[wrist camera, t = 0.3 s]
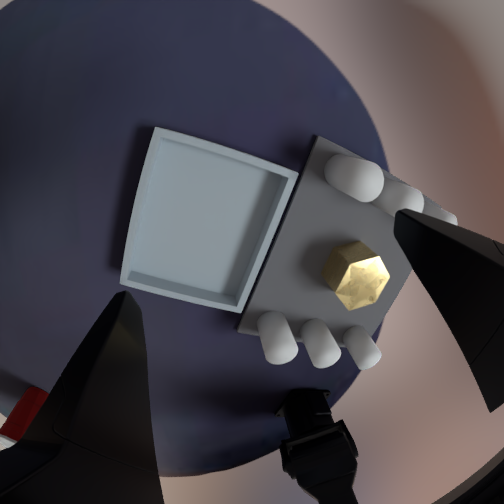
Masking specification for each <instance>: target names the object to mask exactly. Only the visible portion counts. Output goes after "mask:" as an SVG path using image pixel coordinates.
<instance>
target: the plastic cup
mask: <svg viewBox="0 0 504 504" xmlns="http://www.w3.org/2000/svg"><path fill="white" fill-rule="evenodd" d="M48 395H49V394H48V393H47V392H45V391H43V390H42V389H39V388H37V387H30V388H28V390H26V392H25V393H24V395H23V396H22V398H21V399H20V400H19V401H18V402H17V404H16V406H15V407H14V409H13V410H12V412H11V413H10V415H9V417H8V418H7V420H6V422H5V423H4V424H3V426H2V428H0V444H2V445H3V446H4V447H6V448H9V447H11V446H12V445H14V444H15V443H17V442H18V441H19V440H20V439H21V437H22V436H23V434H24V433H25V431H26V430H27V428H28V426H29V425H30V423H31V422H32V420H33V419H34V417H35V415H36V414H37V412H38V411H39V409H40V408H41V406H42V405H43V403H44V402H45V400H46V399H47V397H48Z"/></svg>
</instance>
